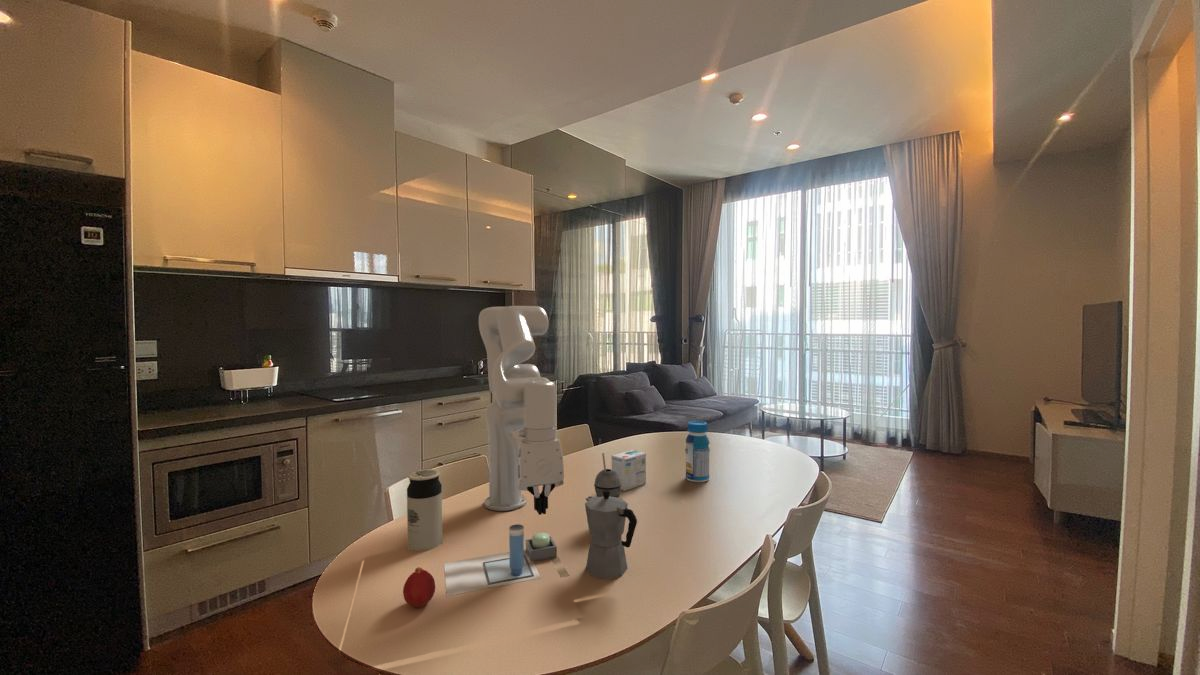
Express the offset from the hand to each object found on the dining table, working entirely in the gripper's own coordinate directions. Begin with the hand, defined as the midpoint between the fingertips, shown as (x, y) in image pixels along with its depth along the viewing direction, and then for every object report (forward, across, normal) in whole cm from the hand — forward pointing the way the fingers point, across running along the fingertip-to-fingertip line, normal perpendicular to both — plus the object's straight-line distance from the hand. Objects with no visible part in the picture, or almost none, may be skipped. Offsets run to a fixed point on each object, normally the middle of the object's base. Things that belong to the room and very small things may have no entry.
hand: (541, 512), depth 110 cm
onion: (+11, -26, -11) cm, 31 cm away
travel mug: (+11, -26, +16) cm, 32 cm away
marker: (+10, -7, -7) cm, 14 cm away
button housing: (+10, 0, 0) cm, 10 cm away
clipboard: (+11, -10, -3) cm, 15 cm away
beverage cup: (+11, +20, +10) cm, 25 cm away
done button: (+8, 0, 0) cm, 8 cm away
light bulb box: (+10, +40, +39) cm, 56 cm away
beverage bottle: (+10, +64, +36) cm, 75 cm away
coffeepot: (+11, +12, -12) cm, 21 cm away
